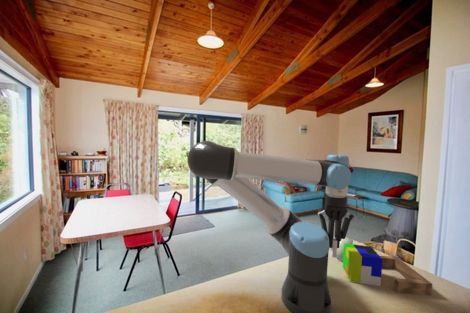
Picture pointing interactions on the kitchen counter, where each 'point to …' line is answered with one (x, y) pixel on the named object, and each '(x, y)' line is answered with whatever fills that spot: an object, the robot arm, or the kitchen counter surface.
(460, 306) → the kitchen counter surface
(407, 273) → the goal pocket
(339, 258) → the cream egg shape
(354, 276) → the puzzle toy
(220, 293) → the kitchen counter surface
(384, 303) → the kitchen counter surface
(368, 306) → the kitchen counter surface
